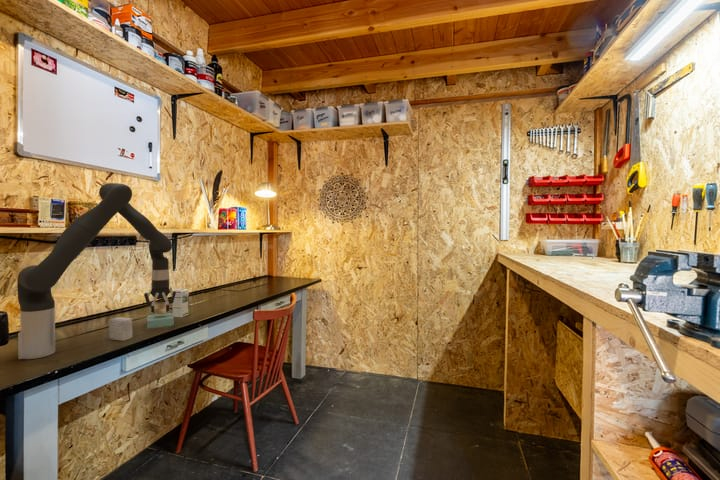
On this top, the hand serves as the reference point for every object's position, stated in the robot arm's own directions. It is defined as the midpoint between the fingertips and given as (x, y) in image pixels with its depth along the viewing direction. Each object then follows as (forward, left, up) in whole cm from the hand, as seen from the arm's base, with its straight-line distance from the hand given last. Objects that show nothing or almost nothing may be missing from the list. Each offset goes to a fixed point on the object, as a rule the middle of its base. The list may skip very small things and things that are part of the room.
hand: (160, 312), depth 166 cm
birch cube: (0, 0, 0) cm, 0 cm away
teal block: (0, 0, -6) cm, 6 cm away
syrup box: (+9, +13, -6) cm, 17 cm away
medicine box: (-14, -18, -6) cm, 24 cm away
